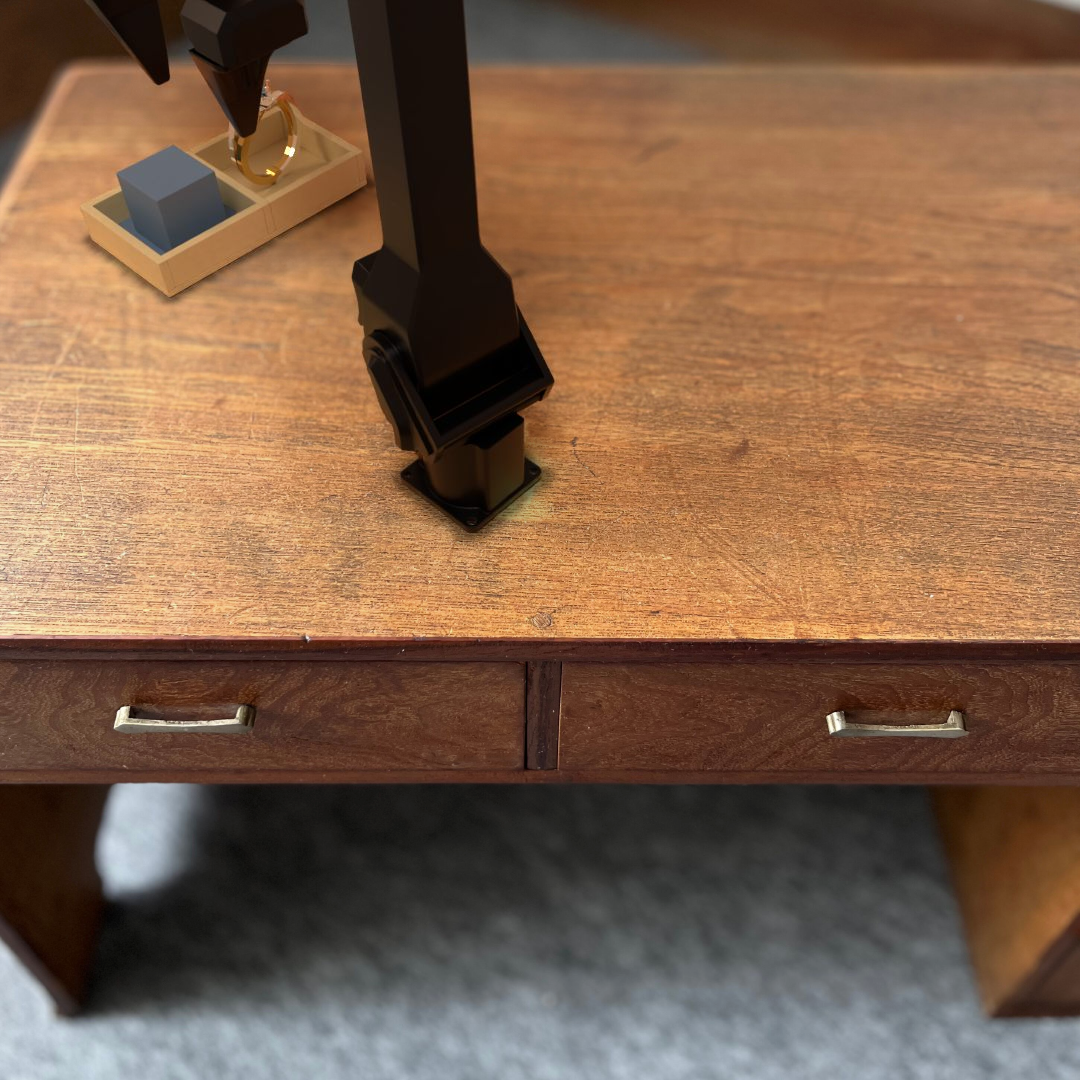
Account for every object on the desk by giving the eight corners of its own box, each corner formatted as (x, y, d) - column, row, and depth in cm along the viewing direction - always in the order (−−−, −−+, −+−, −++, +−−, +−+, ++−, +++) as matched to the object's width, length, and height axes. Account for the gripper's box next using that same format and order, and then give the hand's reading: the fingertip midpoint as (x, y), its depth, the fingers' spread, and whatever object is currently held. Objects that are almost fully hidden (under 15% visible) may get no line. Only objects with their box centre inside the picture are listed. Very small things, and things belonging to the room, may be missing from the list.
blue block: (230, 229, 81) (214, 171, 77) (175, 259, 79) (156, 201, 75) (189, 202, 83) (173, 144, 79) (135, 231, 81) (115, 172, 77)
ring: (258, 208, 83) (236, 113, 77) (229, 193, 84) (205, 98, 78) (321, 167, 86) (305, 73, 80) (293, 153, 87) (274, 59, 81)
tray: (288, 136, 90) (281, 103, 87) (367, 184, 86) (362, 150, 83) (91, 239, 81) (78, 205, 79) (169, 298, 77) (158, 264, 75)
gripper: (362, -153, 58) (390, 112, 71) (158, -238, 66) (216, 16, 78) (193, -89, 53) (256, 185, 65) (-7, -189, 61) (83, 74, 73)
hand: (204, 107), depth 71 cm, fingers open, 9 cm apart
